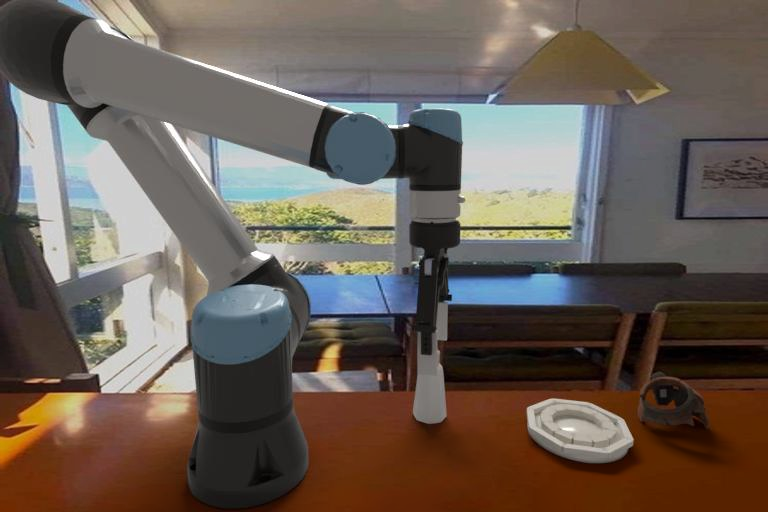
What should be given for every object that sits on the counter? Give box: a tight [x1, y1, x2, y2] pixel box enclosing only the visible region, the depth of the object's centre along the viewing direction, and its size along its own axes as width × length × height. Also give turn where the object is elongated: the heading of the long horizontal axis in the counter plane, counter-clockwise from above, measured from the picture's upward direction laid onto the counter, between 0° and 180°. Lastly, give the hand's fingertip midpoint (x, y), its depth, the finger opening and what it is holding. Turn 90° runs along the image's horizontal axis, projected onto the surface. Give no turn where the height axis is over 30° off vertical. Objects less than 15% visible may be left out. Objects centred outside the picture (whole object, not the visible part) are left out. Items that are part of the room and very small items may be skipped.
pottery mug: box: [637, 371, 710, 430], centre depth 74 cm, size 12×10×8 cm
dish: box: [526, 398, 635, 464], centre depth 70 cm, size 14×14×2 cm
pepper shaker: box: [412, 348, 448, 425], centre depth 74 cm, size 5×5×11 cm
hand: (433, 355), depth 73 cm, fingers open, 13 cm apart
